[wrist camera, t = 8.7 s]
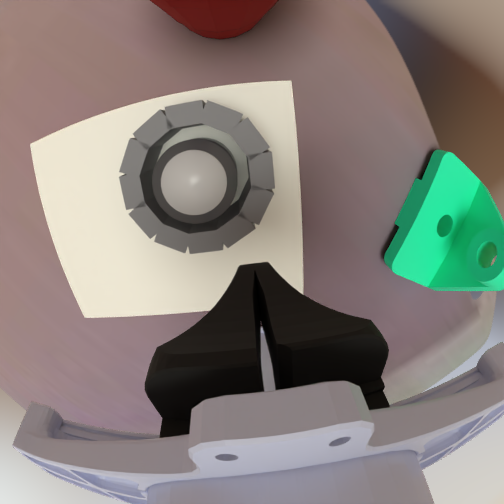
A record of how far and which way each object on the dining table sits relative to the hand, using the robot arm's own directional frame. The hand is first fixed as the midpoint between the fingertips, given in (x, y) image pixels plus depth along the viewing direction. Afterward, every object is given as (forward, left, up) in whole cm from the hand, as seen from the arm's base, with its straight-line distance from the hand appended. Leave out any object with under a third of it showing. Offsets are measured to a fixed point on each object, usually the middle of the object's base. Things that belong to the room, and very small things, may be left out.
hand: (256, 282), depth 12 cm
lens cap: (+4, +3, -9) cm, 10 cm away
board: (+1, +7, -10) cm, 12 cm away
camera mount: (-2, -18, -10) cm, 20 cm away
